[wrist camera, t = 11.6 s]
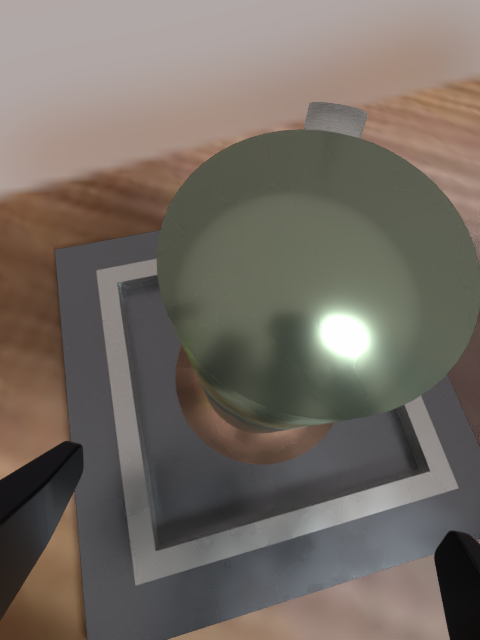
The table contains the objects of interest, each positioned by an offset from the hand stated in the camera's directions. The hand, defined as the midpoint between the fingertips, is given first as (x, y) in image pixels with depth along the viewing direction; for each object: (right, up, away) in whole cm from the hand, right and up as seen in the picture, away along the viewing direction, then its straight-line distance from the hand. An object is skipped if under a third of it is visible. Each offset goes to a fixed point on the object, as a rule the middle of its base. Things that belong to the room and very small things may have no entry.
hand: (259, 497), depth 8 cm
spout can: (+1, +1, +10) cm, 10 cm away
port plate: (+1, +1, +11) cm, 11 cm away
